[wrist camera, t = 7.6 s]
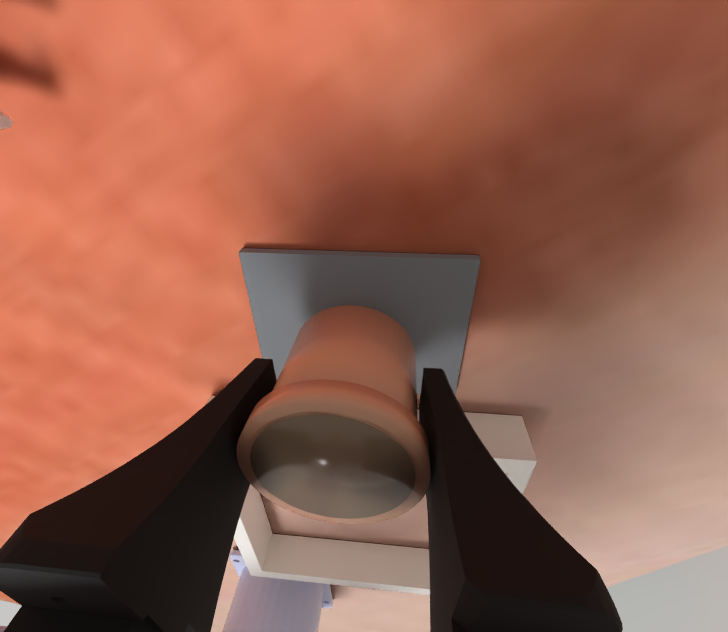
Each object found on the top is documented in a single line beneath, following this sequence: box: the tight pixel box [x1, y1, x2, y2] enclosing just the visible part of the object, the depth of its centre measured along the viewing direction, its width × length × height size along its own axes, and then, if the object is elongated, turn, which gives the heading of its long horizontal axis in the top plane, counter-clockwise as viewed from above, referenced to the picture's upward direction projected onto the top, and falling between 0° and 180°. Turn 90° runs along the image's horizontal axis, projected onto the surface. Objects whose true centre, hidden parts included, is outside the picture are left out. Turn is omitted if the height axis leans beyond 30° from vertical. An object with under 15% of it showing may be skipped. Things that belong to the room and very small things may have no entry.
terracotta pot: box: [237, 305, 431, 524], centre depth 12 cm, size 5×5×5 cm
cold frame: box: [206, 396, 537, 595], centre depth 22 cm, size 16×16×2 cm
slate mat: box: [239, 248, 481, 395], centre depth 15 cm, size 7×9×1 cm
